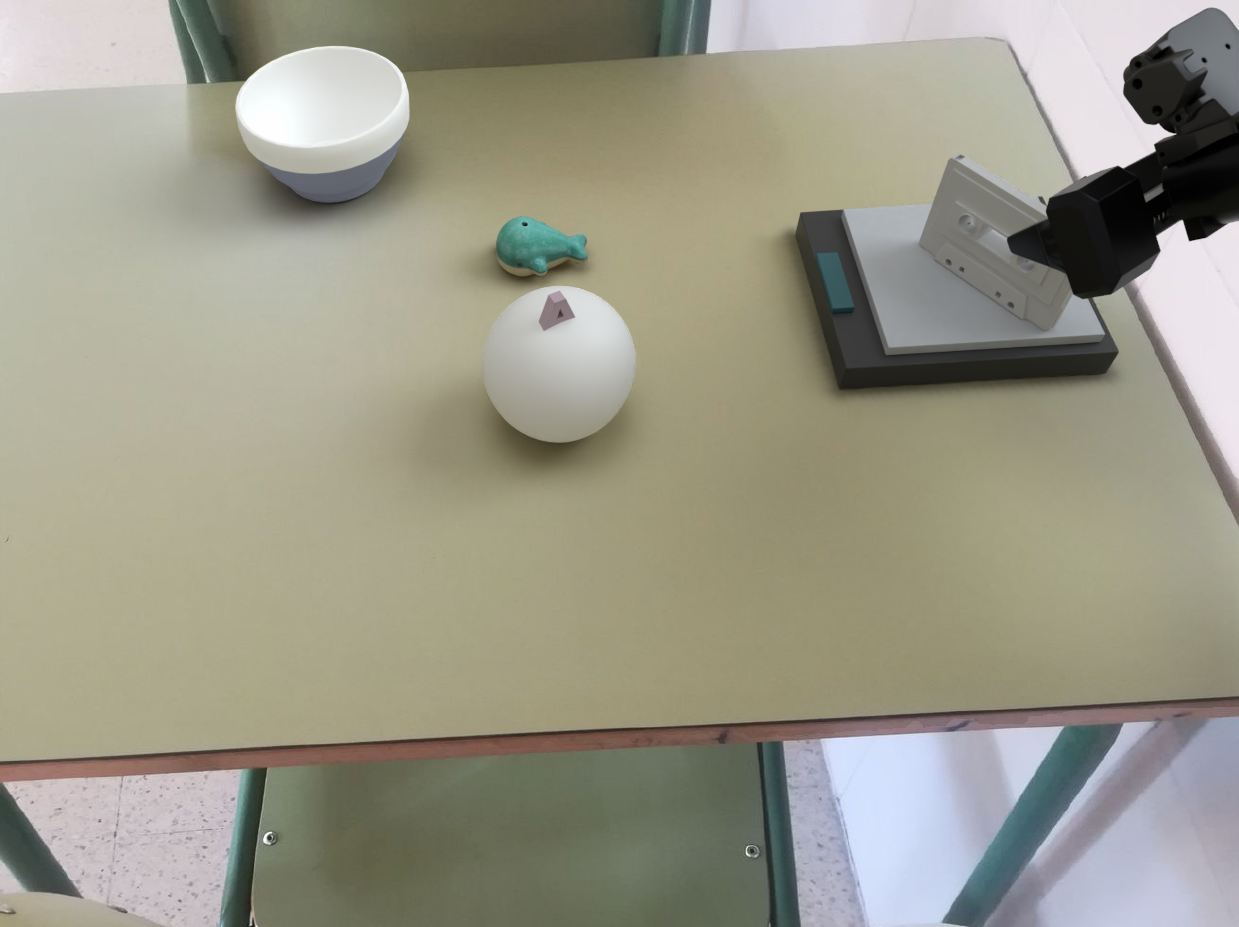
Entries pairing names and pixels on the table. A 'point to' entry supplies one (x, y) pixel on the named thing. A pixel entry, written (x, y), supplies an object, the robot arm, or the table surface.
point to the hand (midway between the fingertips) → (1058, 215)
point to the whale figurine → (536, 247)
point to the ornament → (559, 363)
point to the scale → (927, 310)
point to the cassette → (992, 242)
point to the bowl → (325, 120)
